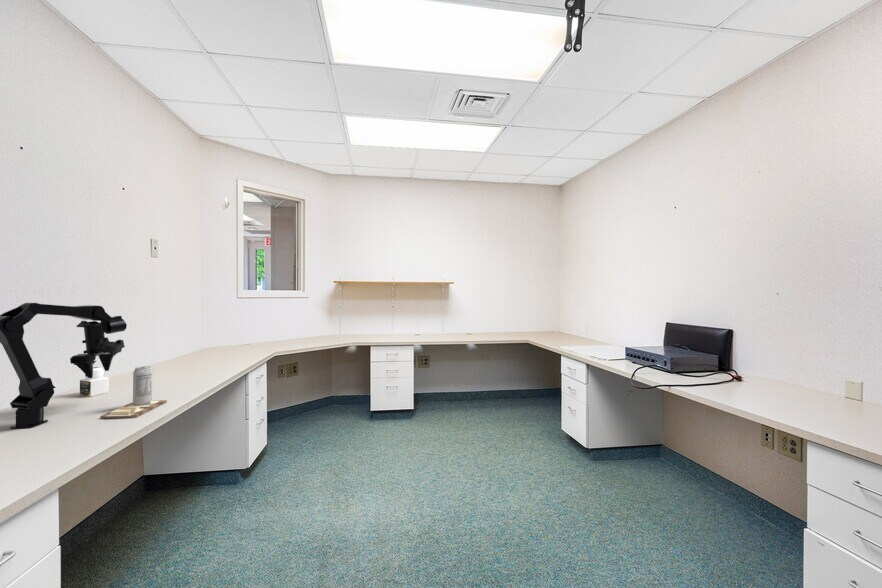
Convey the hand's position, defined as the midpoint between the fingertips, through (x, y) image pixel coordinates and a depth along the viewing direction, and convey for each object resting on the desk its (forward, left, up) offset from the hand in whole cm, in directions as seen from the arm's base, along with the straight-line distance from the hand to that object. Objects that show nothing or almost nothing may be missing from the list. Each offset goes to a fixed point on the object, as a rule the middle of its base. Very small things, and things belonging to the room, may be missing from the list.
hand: (99, 374), depth 147 cm
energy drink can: (-2, -17, -12) cm, 21 cm away
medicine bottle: (+20, +16, -13) cm, 29 cm away
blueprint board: (-6, -17, -13) cm, 22 cm away
